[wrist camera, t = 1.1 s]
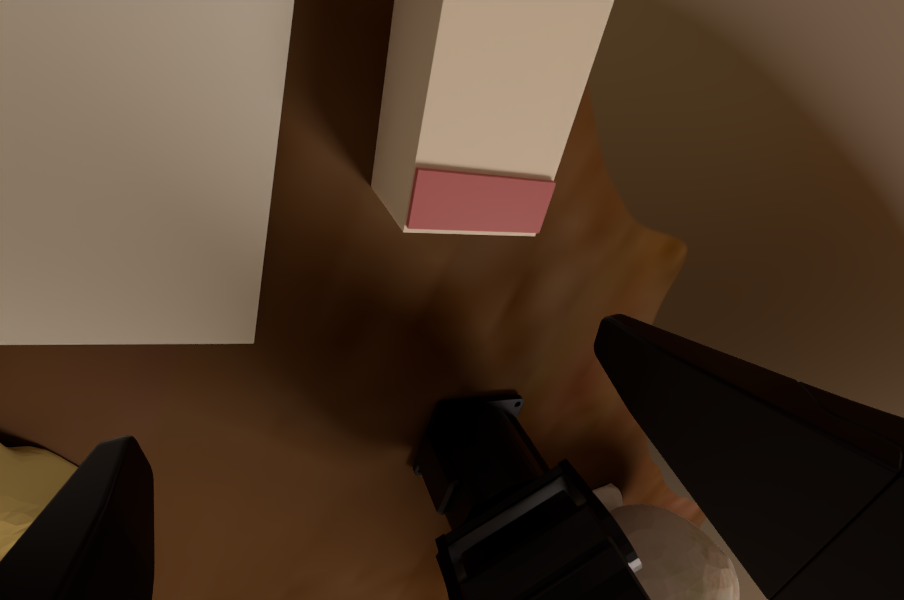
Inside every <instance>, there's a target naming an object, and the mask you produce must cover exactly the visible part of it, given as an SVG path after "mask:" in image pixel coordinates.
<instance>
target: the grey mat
mask: <svg viewBox="0 0 904 600" xmlns="http://www.w3.org/2000/svg"><path fill="white" fill-rule="evenodd" d="M293 7H294V0H0V345H80V344H254V338H255V329H256V321H257V312H258V304H259V295H260V287H261V278H262V270H263V261H264V253H265V244H266V236H267V227H268V219H269V211H270V202H271V194H272V185H273V177H274V168H275V160H276V151H277V143H278V134H279V126H280V117H281V109H282V100H283V92H284V83H285V75H286V67H287V58H288V50H289V41H290V33H291V24H292V16H293Z"/></svg>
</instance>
